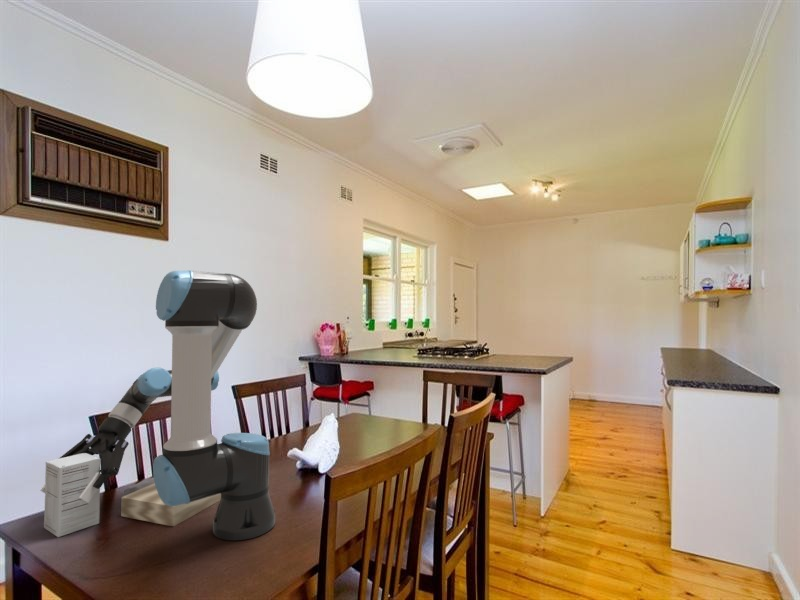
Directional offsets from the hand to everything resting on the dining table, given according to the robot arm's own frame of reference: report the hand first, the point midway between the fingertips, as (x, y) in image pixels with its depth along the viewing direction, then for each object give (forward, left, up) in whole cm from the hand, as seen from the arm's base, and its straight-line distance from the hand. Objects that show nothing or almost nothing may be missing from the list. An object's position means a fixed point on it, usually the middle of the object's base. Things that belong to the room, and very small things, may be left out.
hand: (63, 496), depth 112 cm
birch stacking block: (-16, -19, -8) cm, 26 cm away
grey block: (-1, -25, -9) cm, 26 cm away
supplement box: (0, -2, -8) cm, 9 cm away
